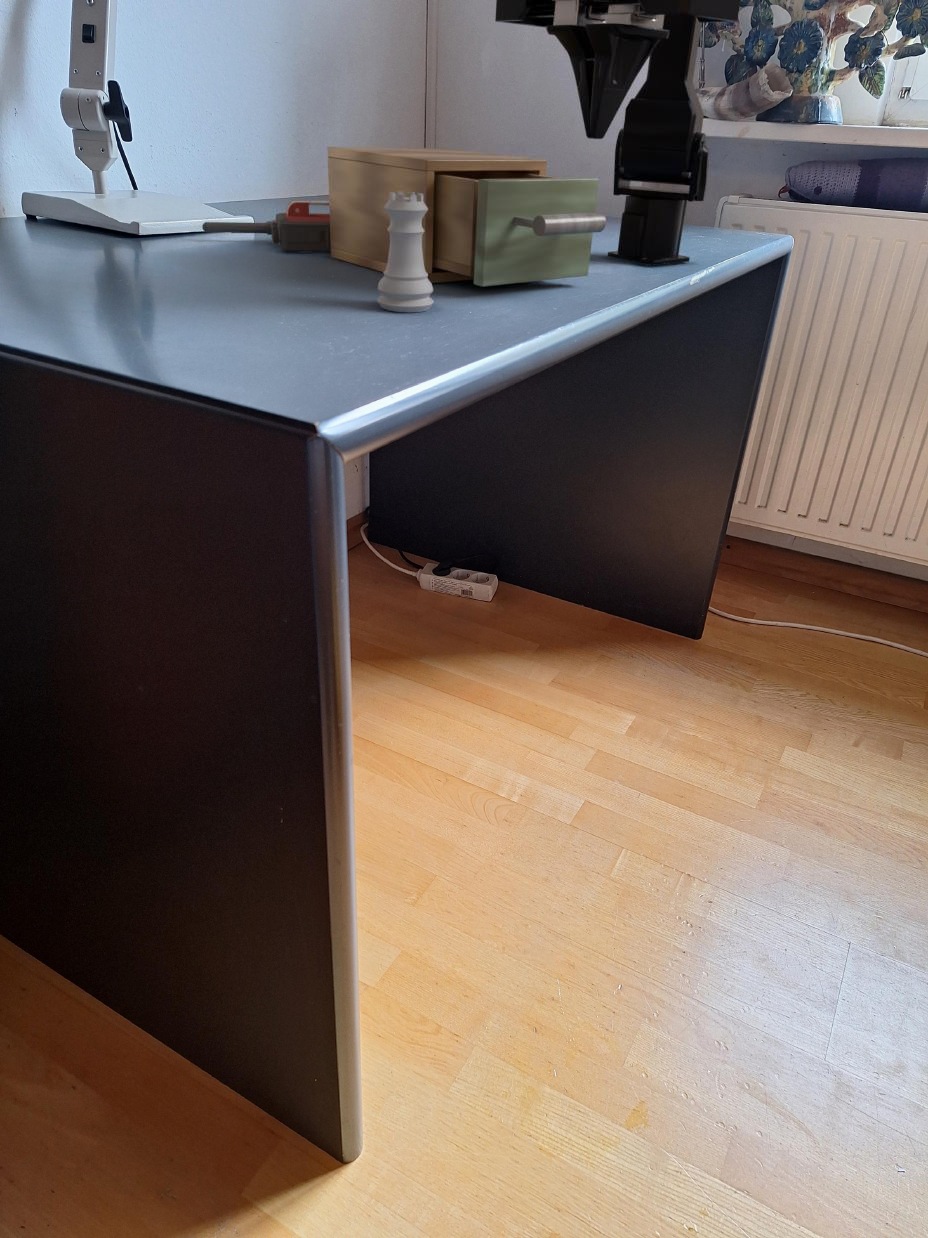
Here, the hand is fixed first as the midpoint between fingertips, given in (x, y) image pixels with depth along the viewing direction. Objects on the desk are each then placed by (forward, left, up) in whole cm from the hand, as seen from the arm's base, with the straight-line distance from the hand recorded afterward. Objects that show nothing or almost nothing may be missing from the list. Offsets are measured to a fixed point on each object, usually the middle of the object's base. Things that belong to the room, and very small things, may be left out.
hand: (594, 138), depth 65 cm
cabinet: (0, -20, -12) cm, 23 cm away
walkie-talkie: (+6, -35, -12) cm, 38 cm away
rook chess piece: (+14, -5, -12) cm, 19 cm away
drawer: (0, -10, -11) cm, 15 cm away
